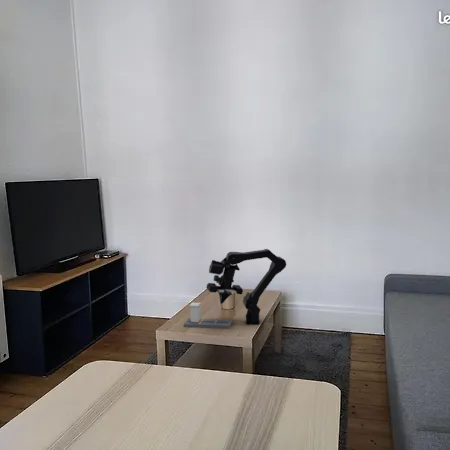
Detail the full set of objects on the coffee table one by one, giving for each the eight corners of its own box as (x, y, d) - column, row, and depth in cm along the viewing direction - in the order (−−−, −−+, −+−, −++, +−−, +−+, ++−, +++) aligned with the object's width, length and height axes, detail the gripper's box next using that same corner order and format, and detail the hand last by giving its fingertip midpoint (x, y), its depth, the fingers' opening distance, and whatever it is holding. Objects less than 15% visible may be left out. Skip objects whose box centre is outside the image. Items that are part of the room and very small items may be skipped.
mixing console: (232, 322, 243) (232, 319, 243) (229, 328, 234) (229, 325, 234) (188, 321, 247) (188, 318, 247) (183, 326, 239) (183, 323, 238)
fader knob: (201, 319, 244) (200, 302, 243) (198, 322, 239) (198, 305, 237) (192, 318, 245) (192, 302, 244) (190, 322, 239) (189, 305, 238)
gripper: (238, 271, 249) (231, 297, 252) (206, 268, 241) (199, 295, 245) (246, 279, 239) (239, 307, 242) (213, 277, 231) (206, 305, 235)
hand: (221, 303), depth 241 cm, fingers closed
